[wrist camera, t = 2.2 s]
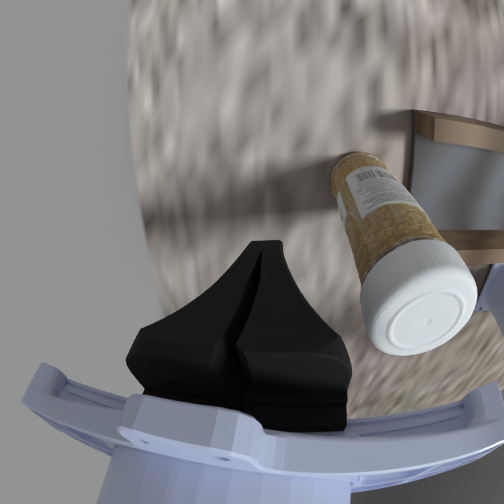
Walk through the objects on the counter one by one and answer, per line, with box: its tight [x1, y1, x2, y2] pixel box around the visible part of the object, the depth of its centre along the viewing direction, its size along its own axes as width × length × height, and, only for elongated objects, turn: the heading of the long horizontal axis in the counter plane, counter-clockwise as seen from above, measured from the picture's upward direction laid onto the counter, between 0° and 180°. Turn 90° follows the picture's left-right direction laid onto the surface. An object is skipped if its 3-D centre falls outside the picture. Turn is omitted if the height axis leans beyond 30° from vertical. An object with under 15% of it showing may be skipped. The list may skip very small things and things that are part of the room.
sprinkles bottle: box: [331, 152, 477, 356], centre depth 13 cm, size 5×5×13 cm
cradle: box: [408, 109, 504, 266], centre depth 16 cm, size 13×11×4 cm
